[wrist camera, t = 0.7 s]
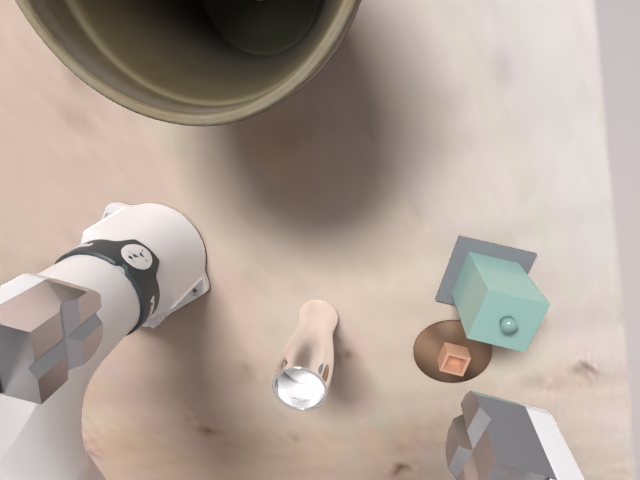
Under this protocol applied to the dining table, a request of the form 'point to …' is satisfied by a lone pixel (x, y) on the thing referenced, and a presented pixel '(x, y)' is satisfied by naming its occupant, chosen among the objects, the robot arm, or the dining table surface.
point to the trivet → (453, 333)
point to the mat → (481, 248)
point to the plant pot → (193, 51)
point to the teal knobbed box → (498, 302)
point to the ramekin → (453, 359)
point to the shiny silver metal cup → (307, 358)
